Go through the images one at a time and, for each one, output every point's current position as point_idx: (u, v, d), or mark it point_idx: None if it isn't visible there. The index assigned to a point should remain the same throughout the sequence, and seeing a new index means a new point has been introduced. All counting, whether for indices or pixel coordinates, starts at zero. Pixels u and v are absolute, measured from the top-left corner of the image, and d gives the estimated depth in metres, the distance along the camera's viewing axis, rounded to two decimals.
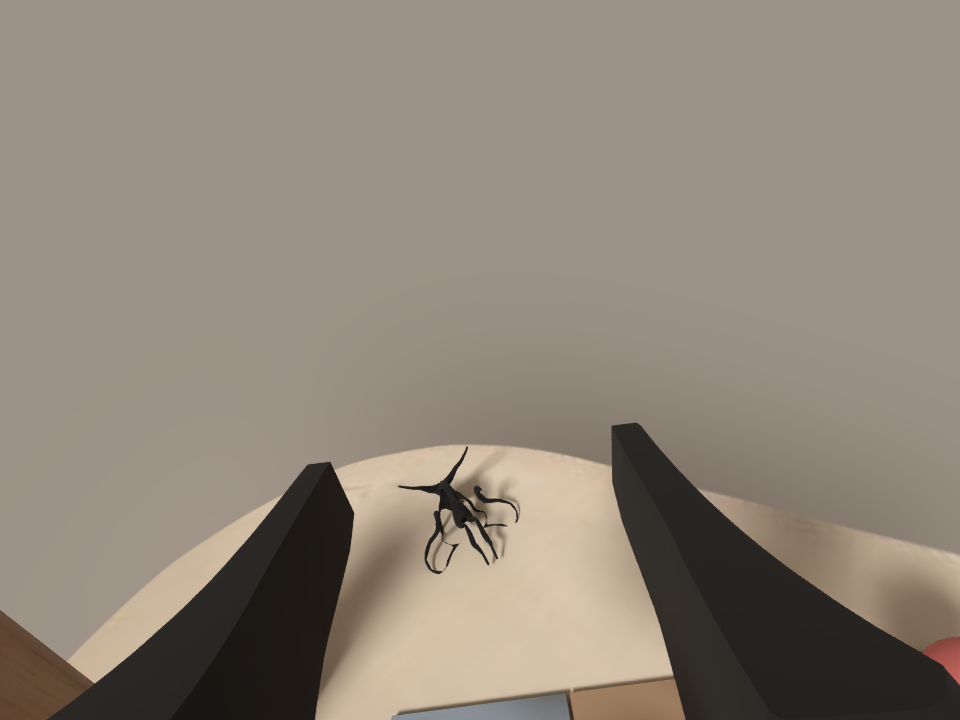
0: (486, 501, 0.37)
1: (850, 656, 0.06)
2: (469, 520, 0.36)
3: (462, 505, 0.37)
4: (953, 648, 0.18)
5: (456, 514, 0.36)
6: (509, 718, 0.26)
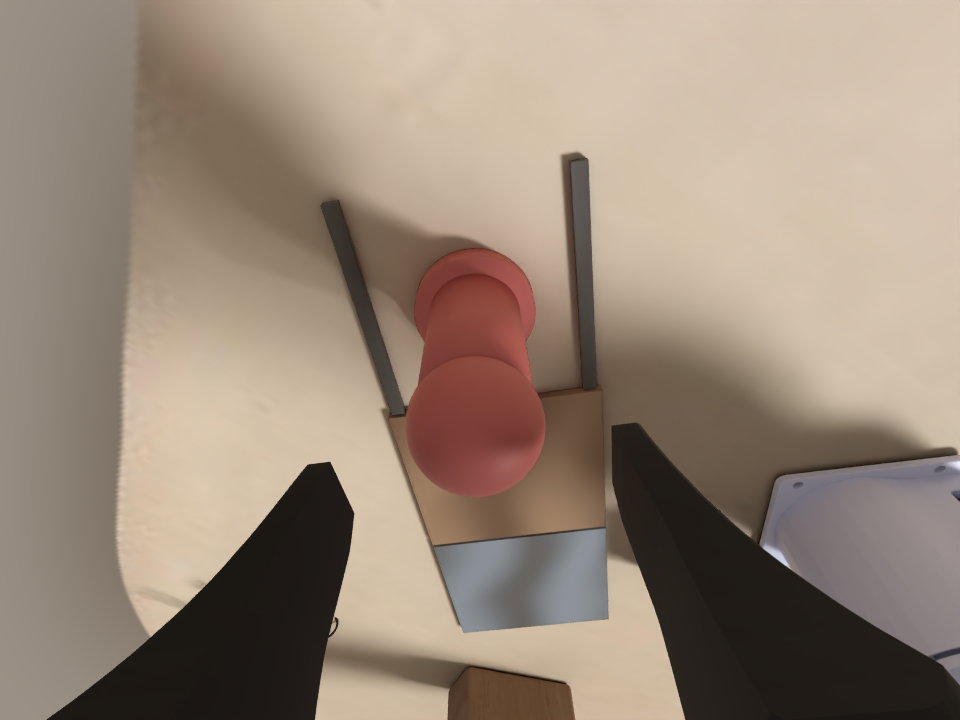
0: None
1: (849, 656, 0.06)
2: None
3: None
4: (436, 484, 0.13)
5: None
6: (457, 577, 0.30)
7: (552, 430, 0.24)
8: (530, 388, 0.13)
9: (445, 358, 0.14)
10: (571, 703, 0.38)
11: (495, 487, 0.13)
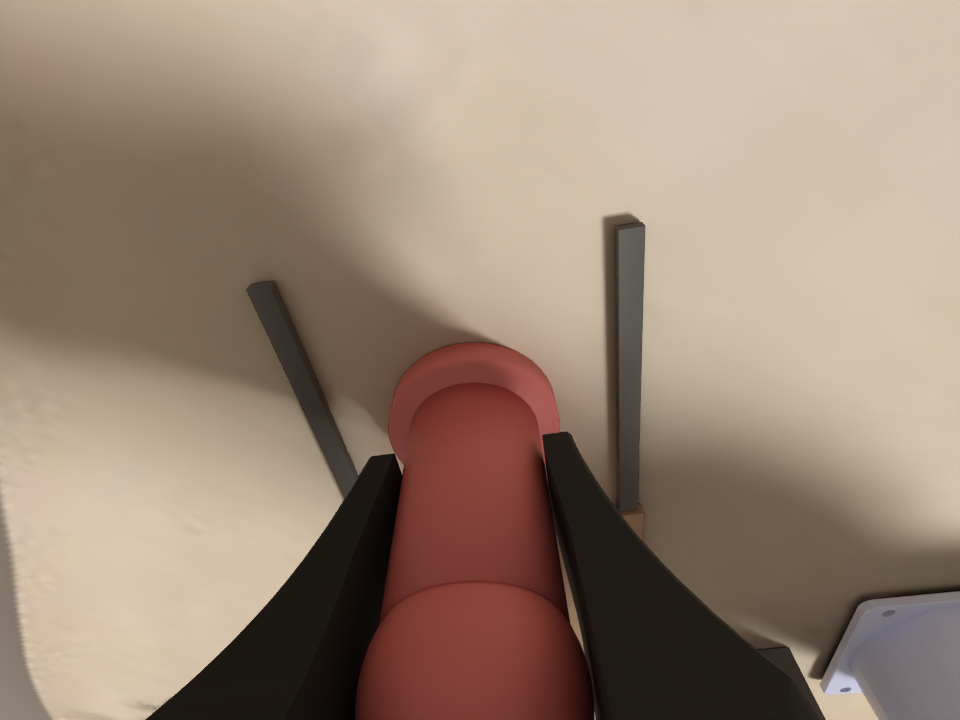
0: None
1: (707, 669, 0.06)
2: None
3: None
4: None
5: None
6: None
7: None
8: (570, 653, 0.08)
9: (425, 581, 0.08)
10: None
11: None
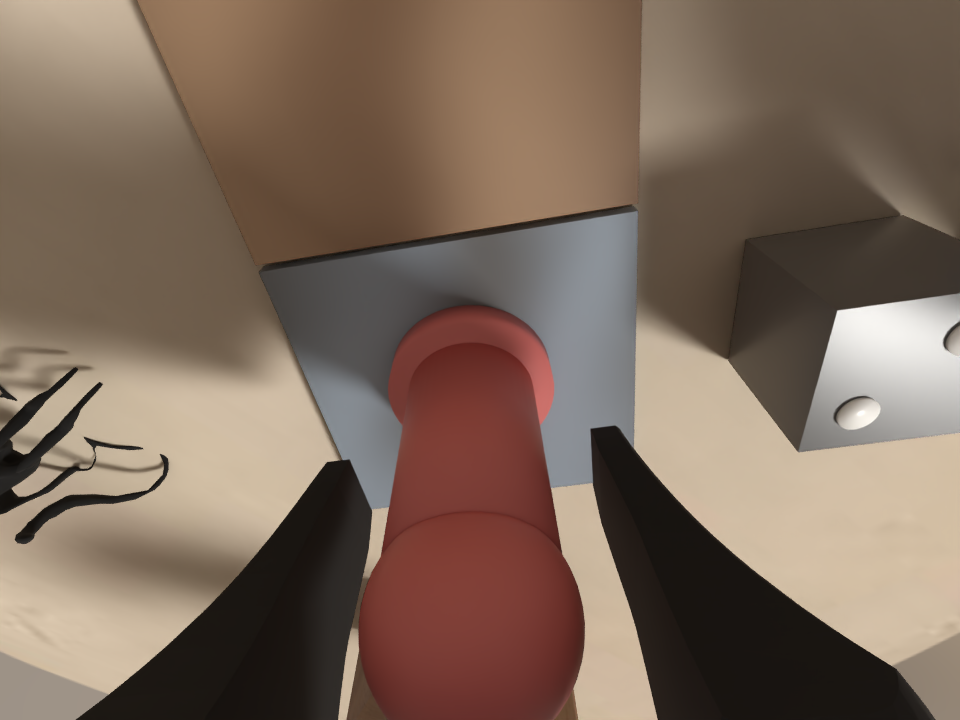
0: None
1: (806, 660, 0.06)
2: (7, 448, 0.15)
3: None
4: None
5: (4, 484, 0.15)
6: (328, 364, 0.15)
7: None
8: (562, 575, 0.08)
9: (425, 513, 0.09)
10: None
11: None
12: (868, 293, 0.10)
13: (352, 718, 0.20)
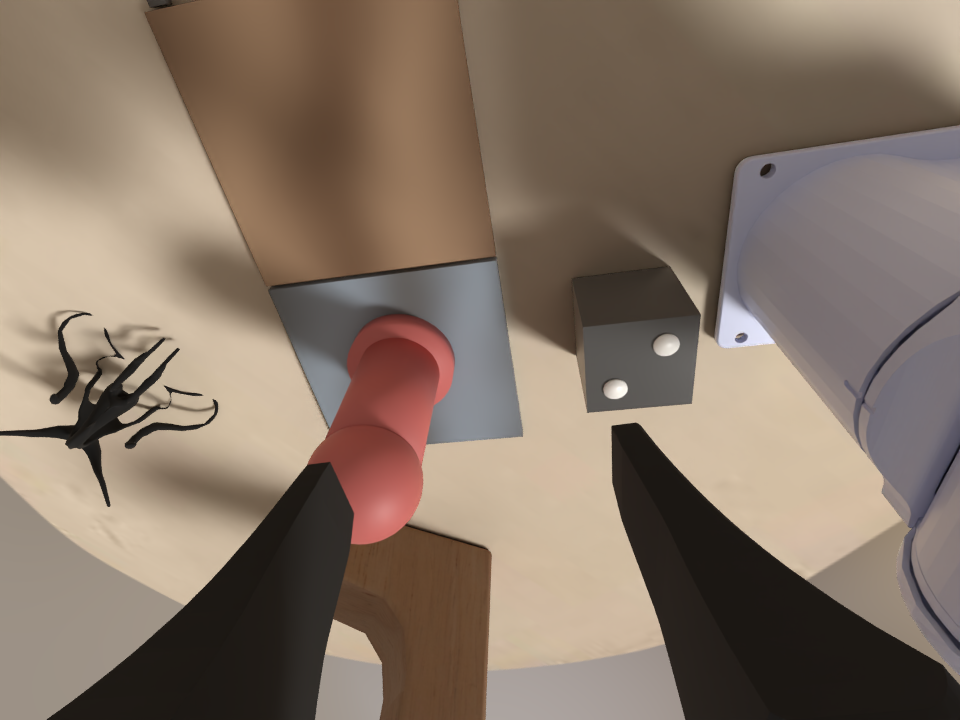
0: (74, 372, 0.23)
1: (850, 657, 0.06)
2: (119, 388, 0.24)
3: (98, 408, 0.23)
4: None
5: (118, 411, 0.24)
6: (312, 349, 0.23)
7: (387, 42, 0.16)
8: (405, 456, 0.16)
9: (342, 425, 0.17)
10: (489, 569, 0.31)
11: (368, 539, 0.16)
12: (606, 318, 0.18)
13: None
